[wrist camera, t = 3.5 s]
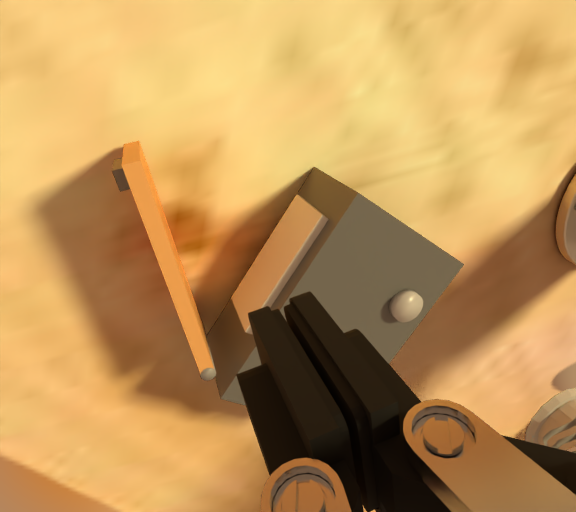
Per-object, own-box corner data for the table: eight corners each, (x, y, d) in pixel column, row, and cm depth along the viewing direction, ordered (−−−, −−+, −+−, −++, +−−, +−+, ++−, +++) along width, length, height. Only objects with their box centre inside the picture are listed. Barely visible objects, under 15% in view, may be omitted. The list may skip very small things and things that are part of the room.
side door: (112, 147, 22) (107, 168, 17) (139, 140, 22) (141, 160, 18) (184, 335, 28) (193, 386, 23) (205, 328, 28) (218, 377, 24)
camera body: (308, 162, 26) (356, 191, 20) (409, 230, 31) (470, 268, 25) (190, 349, 29) (204, 420, 23) (299, 384, 34) (332, 450, 28)
